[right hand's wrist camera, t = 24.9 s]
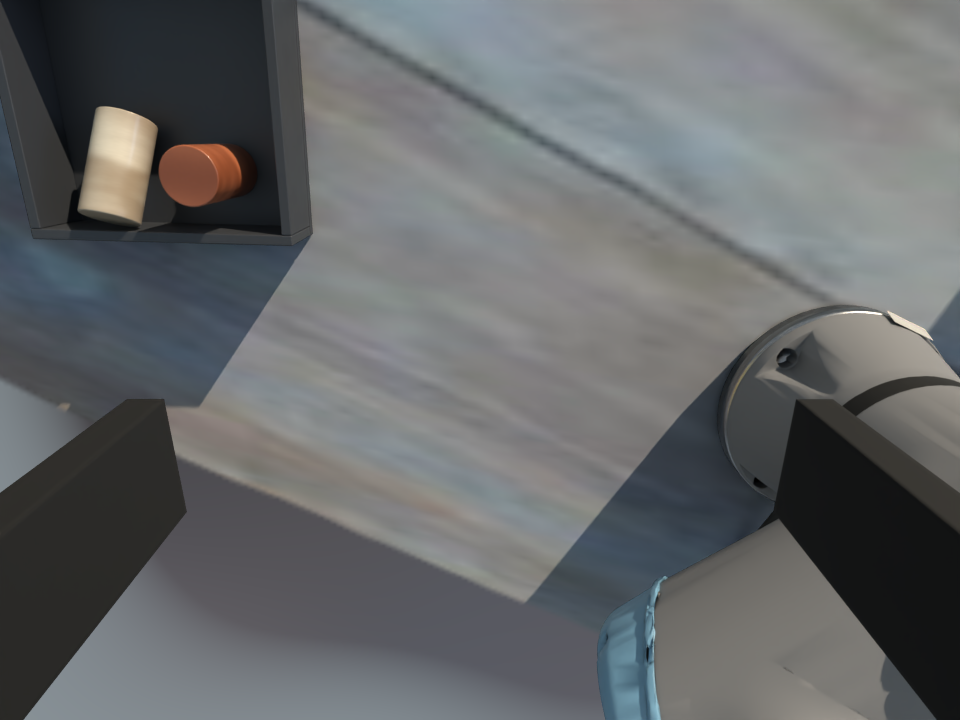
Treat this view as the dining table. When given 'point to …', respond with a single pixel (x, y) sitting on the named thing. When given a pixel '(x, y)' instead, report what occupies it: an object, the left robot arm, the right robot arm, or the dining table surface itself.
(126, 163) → the cream peg
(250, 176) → the terracotta peg
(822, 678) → the right robot arm
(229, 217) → the tray
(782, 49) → the dining table surface
